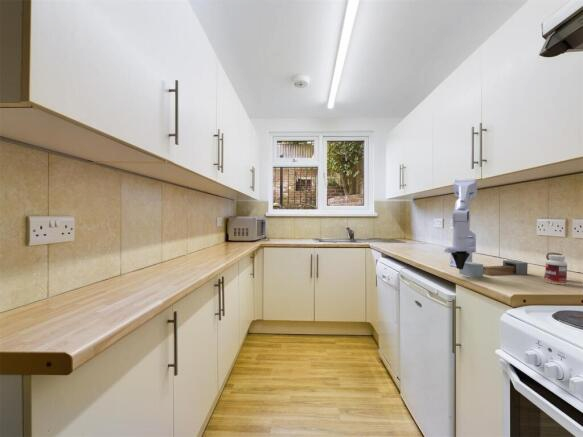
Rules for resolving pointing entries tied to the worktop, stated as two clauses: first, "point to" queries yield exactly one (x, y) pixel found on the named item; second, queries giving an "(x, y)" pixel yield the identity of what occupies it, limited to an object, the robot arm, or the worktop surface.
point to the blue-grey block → (472, 269)
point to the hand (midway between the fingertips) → (459, 268)
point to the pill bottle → (556, 270)
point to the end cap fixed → (517, 266)
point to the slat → (499, 270)
